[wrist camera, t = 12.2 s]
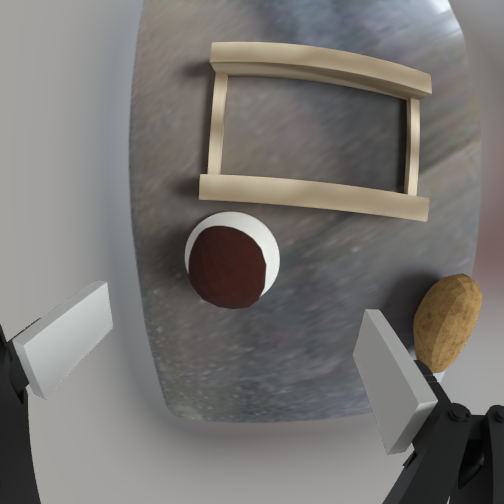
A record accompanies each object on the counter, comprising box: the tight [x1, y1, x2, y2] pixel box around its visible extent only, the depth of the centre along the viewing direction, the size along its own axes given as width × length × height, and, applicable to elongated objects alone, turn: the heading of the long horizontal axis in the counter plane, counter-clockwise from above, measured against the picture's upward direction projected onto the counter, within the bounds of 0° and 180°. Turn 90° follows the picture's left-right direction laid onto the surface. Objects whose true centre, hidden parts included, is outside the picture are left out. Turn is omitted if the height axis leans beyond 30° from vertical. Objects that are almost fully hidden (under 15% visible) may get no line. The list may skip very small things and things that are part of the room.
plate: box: [185, 211, 280, 295], centre depth 33 cm, size 11×11×1 cm
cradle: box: [199, 42, 432, 222], centre depth 27 cm, size 17×24×4 cm
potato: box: [413, 273, 483, 373], centre depth 29 cm, size 10×14×8 cm
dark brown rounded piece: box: [188, 226, 267, 309], centre depth 29 cm, size 8×9×8 cm
